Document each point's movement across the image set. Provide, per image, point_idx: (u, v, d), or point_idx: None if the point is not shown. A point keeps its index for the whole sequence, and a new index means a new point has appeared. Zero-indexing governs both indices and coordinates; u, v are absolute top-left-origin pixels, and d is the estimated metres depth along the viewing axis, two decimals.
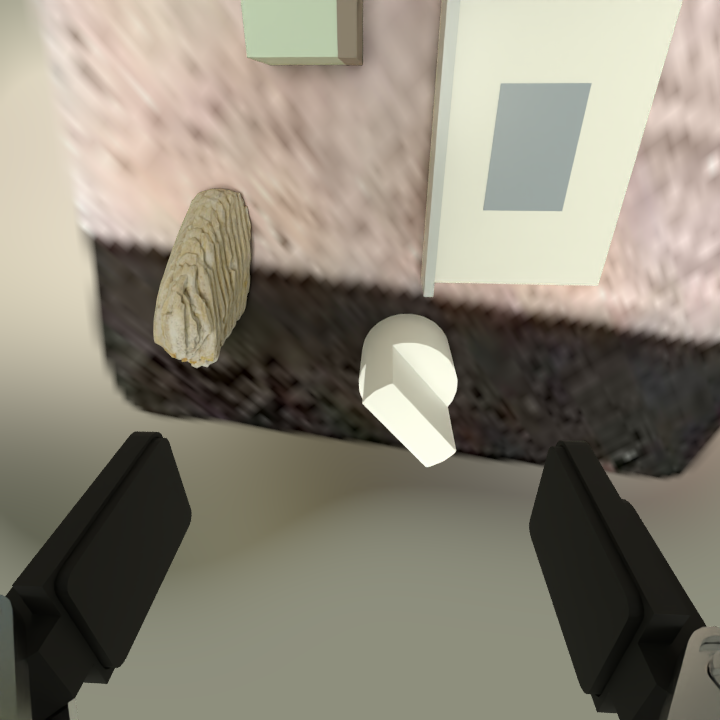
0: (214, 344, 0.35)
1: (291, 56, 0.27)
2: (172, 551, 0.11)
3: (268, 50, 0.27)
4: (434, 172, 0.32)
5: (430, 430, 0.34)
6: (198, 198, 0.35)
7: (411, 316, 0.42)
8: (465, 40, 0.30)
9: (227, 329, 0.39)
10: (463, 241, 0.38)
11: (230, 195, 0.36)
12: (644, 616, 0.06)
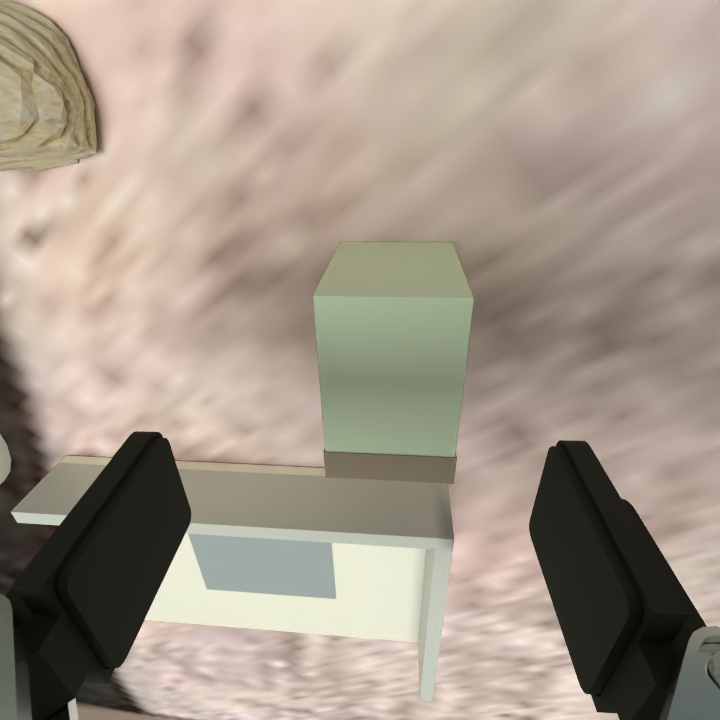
0: None
1: (321, 378, 0.14)
2: (172, 551, 0.11)
3: (327, 340, 0.13)
4: (199, 523, 0.21)
5: None
6: (13, 58, 0.13)
7: None
8: None
9: None
10: None
11: (68, 144, 0.15)
12: (644, 616, 0.06)
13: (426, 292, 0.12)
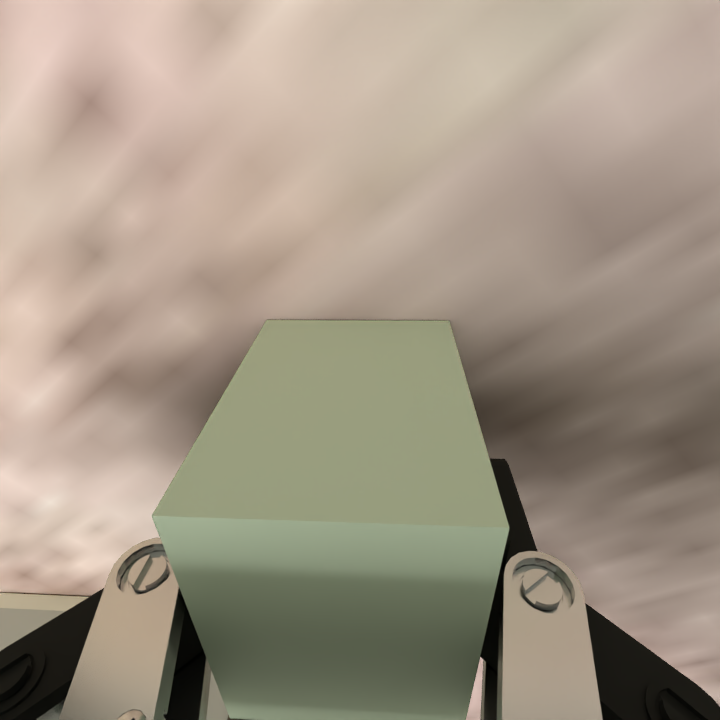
0: None
1: (202, 629, 0.07)
2: None
3: (200, 584, 0.06)
4: None
5: None
6: None
7: None
8: None
9: None
10: None
11: None
12: None
13: (402, 499, 0.06)
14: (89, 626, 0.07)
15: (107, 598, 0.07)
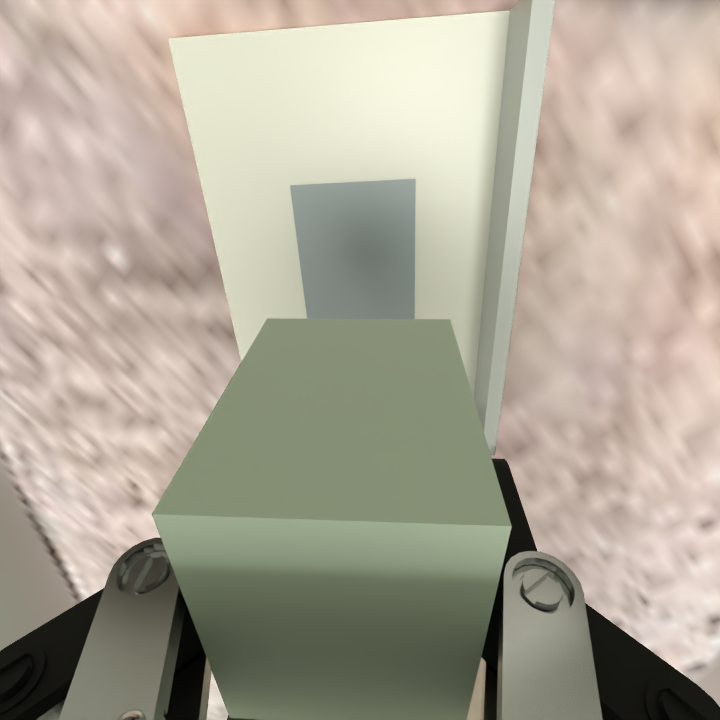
0: None
1: None
2: None
3: (201, 582, 0.06)
4: (518, 259, 0.20)
5: None
6: None
7: None
8: None
9: None
10: (443, 117, 0.20)
11: None
12: None
13: (403, 498, 0.06)
14: (89, 626, 0.07)
15: (107, 598, 0.07)
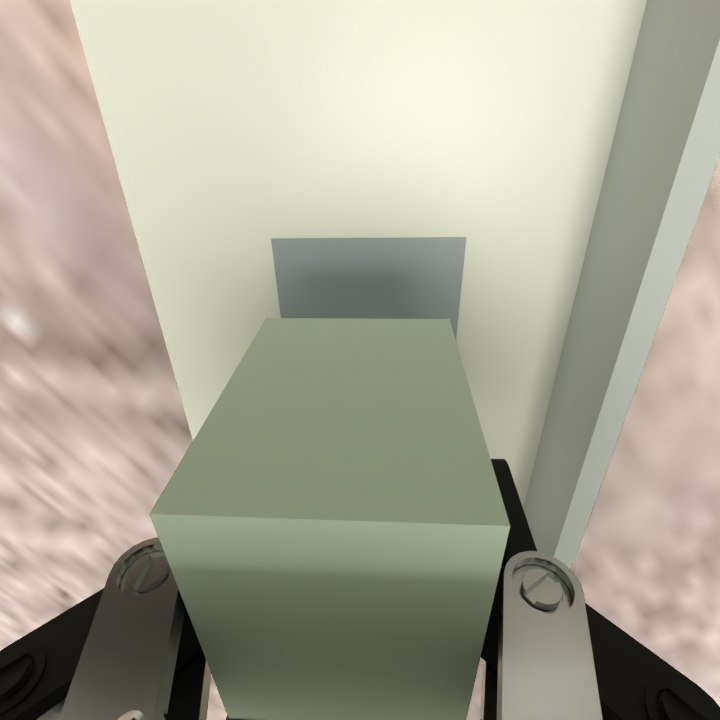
0: None
1: (201, 629, 0.07)
2: None
3: (199, 583, 0.06)
4: (634, 380, 0.13)
5: None
6: None
7: None
8: None
9: None
10: (520, 146, 0.13)
11: None
12: None
13: (402, 498, 0.06)
14: (89, 626, 0.07)
15: (107, 598, 0.07)
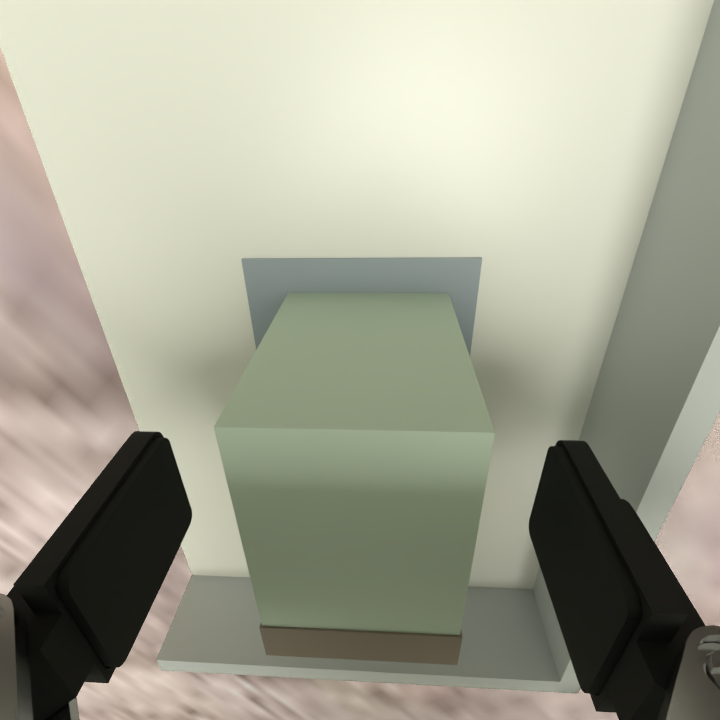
0: None
1: None
2: (173, 551, 0.11)
3: (247, 490, 0.08)
4: (698, 443, 0.10)
5: None
6: None
7: None
8: (519, 541, 0.17)
9: None
10: (552, 144, 0.10)
11: None
12: (643, 615, 0.06)
13: (411, 416, 0.07)
14: None
15: None
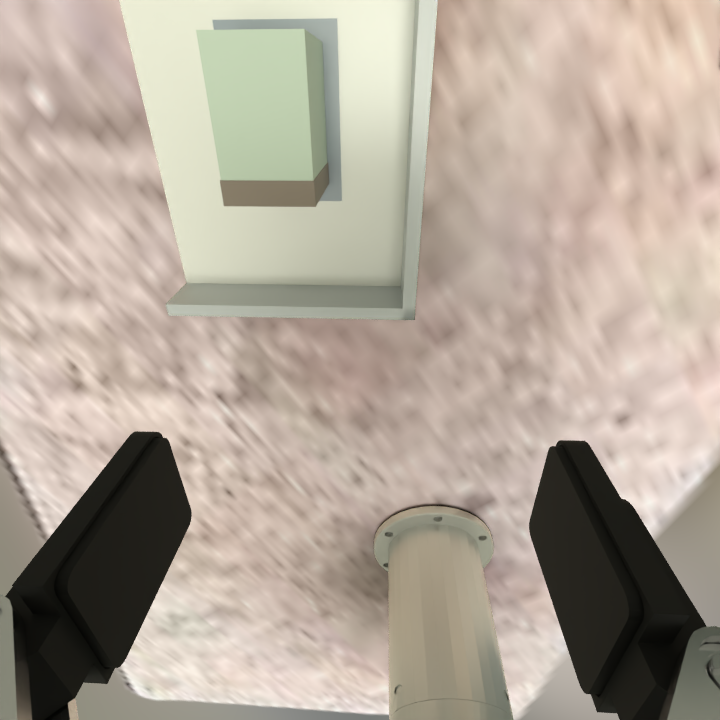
0: None
1: (210, 109, 0.19)
2: (172, 551, 0.11)
3: (210, 71, 0.18)
4: (429, 96, 0.21)
5: None
6: None
7: None
8: (387, 241, 0.28)
9: None
10: None
11: None
12: (644, 616, 0.06)
13: (275, 30, 0.18)
14: None
15: None
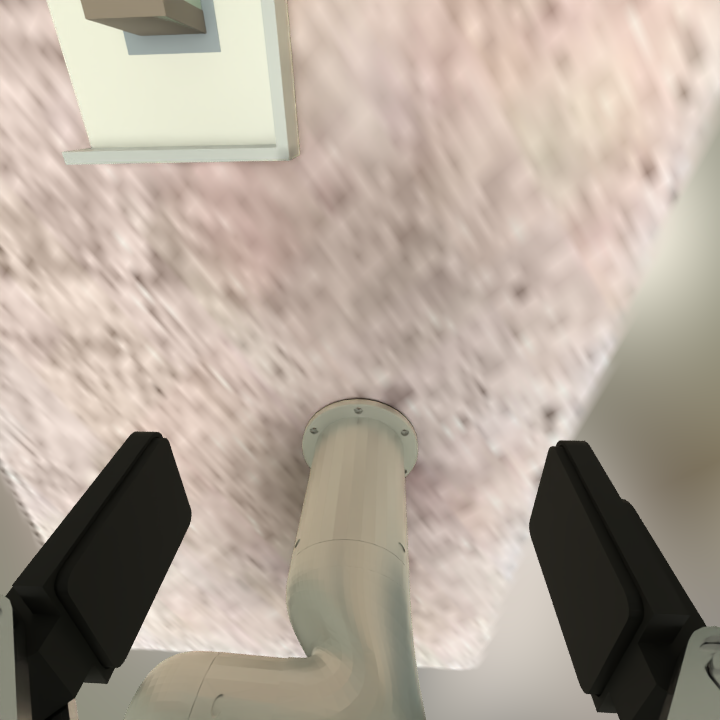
0: None
1: None
2: (172, 551, 0.11)
3: None
4: None
5: None
6: None
7: None
8: (267, 95, 0.30)
9: None
10: None
11: None
12: (644, 616, 0.06)
13: None
14: None
15: None
